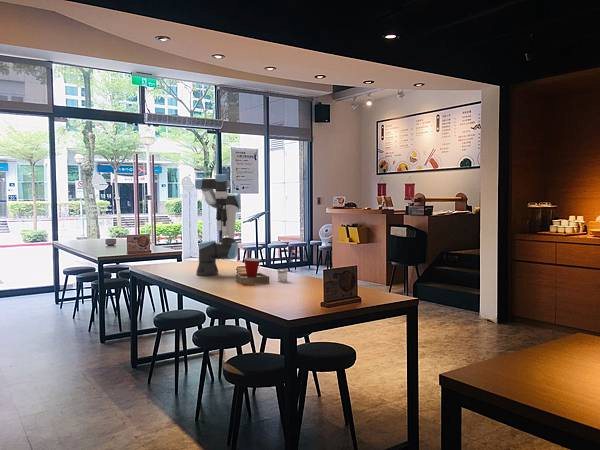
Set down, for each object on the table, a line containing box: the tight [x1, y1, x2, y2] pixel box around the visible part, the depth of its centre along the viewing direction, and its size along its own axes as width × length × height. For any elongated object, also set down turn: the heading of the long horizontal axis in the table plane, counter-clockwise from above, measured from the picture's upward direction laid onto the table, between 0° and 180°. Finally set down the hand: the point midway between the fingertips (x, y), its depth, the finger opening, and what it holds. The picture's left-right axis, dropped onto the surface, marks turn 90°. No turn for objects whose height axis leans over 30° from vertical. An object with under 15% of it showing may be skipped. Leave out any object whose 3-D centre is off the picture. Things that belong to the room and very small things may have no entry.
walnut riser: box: [235, 272, 270, 286], centre depth 323 cm, size 17×17×4 cm
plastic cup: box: [243, 257, 261, 278], centre depth 322 cm, size 11×11×12 cm
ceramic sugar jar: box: [277, 269, 288, 283], centre depth 326 cm, size 7×7×7 cm
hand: (221, 231), depth 332 cm, fingers open, 13 cm apart
